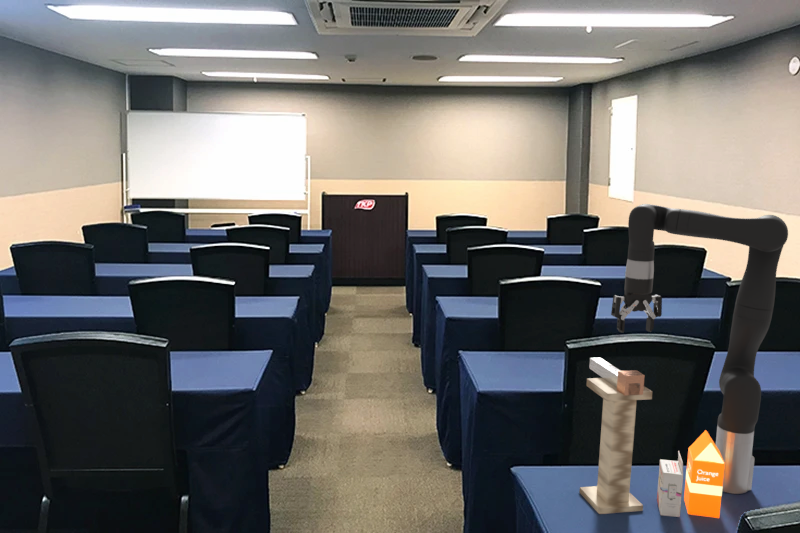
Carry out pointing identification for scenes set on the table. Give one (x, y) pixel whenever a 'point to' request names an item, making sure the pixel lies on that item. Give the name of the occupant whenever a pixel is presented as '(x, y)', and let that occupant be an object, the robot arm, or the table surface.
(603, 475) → the birch stand
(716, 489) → the orange juice
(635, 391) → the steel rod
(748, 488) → the robot arm
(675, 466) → the ink cartridge box
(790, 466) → the table surface
